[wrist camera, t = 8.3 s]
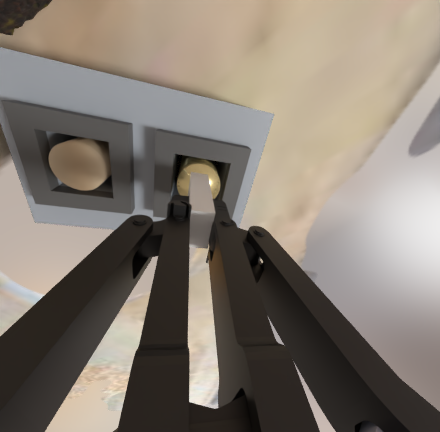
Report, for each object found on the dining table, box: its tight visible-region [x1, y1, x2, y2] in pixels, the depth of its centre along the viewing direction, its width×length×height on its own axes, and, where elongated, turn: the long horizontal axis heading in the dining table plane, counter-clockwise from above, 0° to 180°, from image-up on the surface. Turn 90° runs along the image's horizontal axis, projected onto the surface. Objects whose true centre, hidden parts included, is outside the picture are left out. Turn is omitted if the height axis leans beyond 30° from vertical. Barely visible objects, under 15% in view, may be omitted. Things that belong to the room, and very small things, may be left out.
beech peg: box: [49, 137, 111, 191], centre depth 18 cm, size 4×4×7 cm
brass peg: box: [177, 155, 220, 199], centre depth 20 cm, size 4×4×7 cm
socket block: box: [0, 47, 274, 230], centre depth 20 cm, size 21×14×7 cm, turn 78°
